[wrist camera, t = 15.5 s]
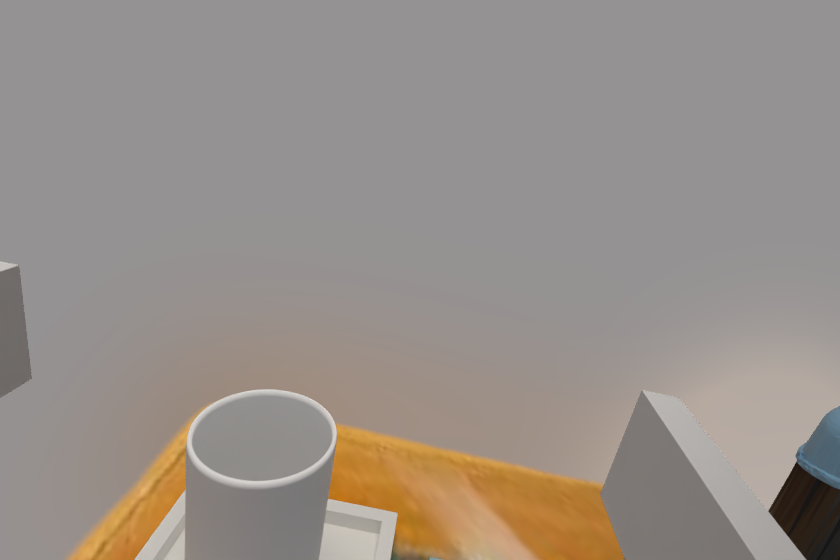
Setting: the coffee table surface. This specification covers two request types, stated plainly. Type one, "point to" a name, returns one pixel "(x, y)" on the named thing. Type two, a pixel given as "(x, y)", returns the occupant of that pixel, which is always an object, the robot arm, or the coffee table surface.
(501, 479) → the coffee table surface
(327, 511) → the tray
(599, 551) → the coffee table surface
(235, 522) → the cup
